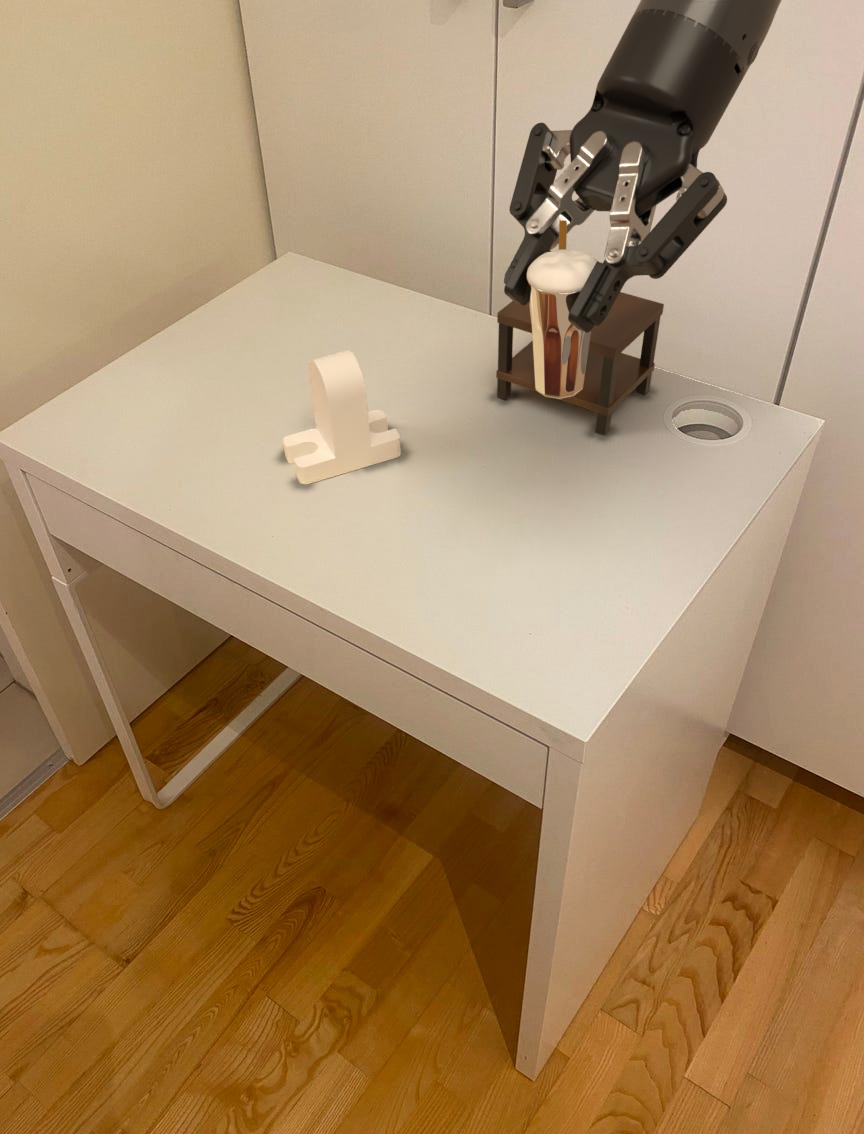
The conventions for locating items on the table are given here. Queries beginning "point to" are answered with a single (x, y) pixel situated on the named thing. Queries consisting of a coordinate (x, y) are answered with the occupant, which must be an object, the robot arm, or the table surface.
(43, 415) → the table surface
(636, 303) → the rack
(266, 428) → the table surface
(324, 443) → the cream mounting bracket
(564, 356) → the milkshake
